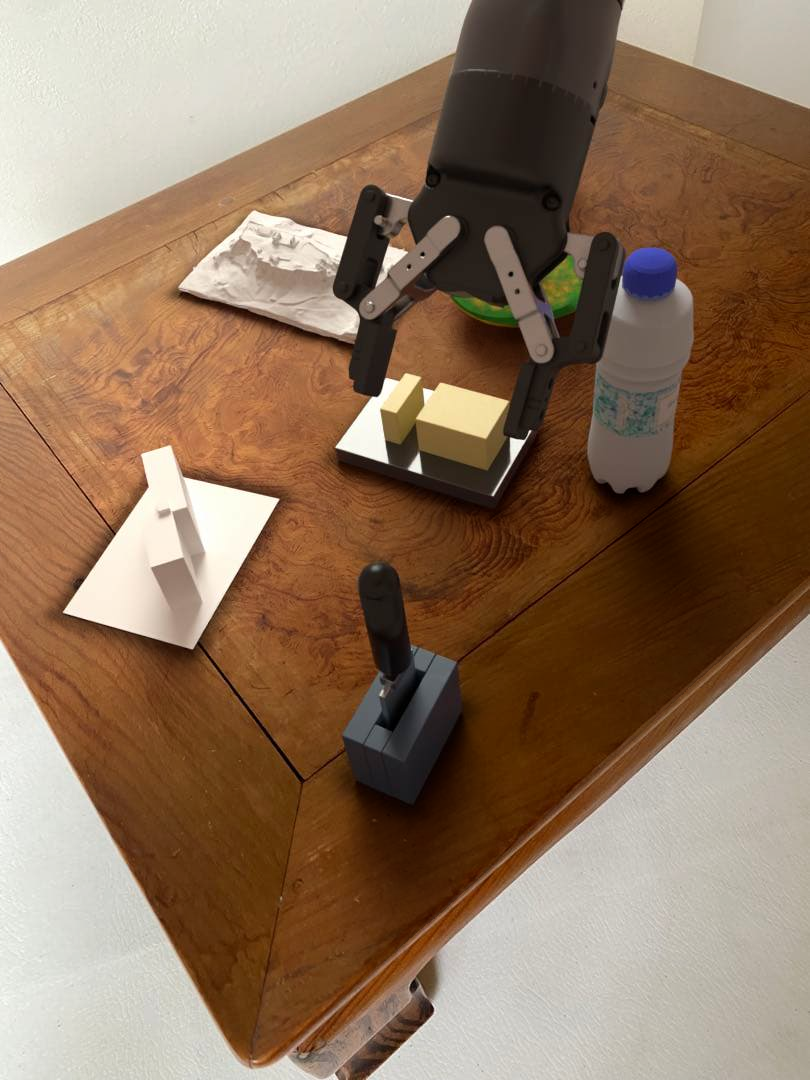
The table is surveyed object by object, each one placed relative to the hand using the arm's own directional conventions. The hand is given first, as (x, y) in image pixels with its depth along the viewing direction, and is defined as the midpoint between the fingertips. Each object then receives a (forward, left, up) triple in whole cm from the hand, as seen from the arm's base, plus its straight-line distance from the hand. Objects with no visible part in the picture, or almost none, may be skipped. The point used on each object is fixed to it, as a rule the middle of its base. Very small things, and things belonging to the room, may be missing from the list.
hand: (438, 416), depth 51 cm
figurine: (+11, -36, -23) cm, 44 cm away
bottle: (-5, -20, -23) cm, 31 cm away
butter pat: (+13, -17, -21) cm, 30 cm away
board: (+10, -17, -23) cm, 30 cm away
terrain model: (+32, -33, -23) cm, 51 cm away
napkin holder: (+24, +1, -23) cm, 33 cm away
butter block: (+7, -17, -21) cm, 28 cm away
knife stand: (0, +8, -23) cm, 24 cm away
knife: (0, +8, -23) cm, 24 cm away
